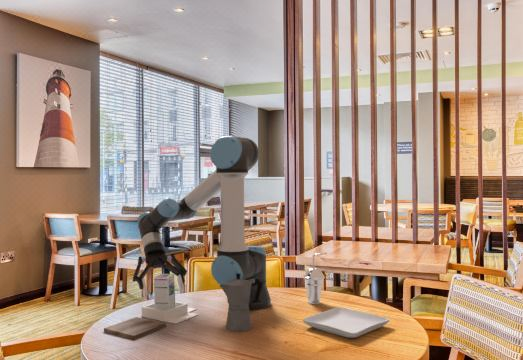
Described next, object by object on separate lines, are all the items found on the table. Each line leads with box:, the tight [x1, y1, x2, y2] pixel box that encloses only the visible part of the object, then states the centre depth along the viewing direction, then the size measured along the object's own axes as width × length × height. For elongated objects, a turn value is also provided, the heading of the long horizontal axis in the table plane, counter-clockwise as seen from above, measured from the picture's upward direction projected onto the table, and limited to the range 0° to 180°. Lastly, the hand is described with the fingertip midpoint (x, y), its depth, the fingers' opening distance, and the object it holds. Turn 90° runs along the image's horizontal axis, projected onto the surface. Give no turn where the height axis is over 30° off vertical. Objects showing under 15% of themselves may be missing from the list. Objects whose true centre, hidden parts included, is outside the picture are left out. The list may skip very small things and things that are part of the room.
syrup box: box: [153, 273, 176, 311], centre depth 172 cm, size 6×6×14 cm
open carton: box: [141, 301, 199, 325], centre depth 173 cm, size 17×17×4 cm
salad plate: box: [302, 306, 390, 339], centre depth 156 cm, size 21×21×3 cm
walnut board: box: [103, 316, 167, 340], centre depth 156 cm, size 14×14×1 cm
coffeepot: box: [219, 273, 263, 333], centre depth 157 cm, size 15×9×18 cm, turn 115°
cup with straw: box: [302, 252, 328, 305], centre depth 186 cm, size 8×9×20 cm
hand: (164, 293), depth 171 cm, fingers open, 13 cm apart
